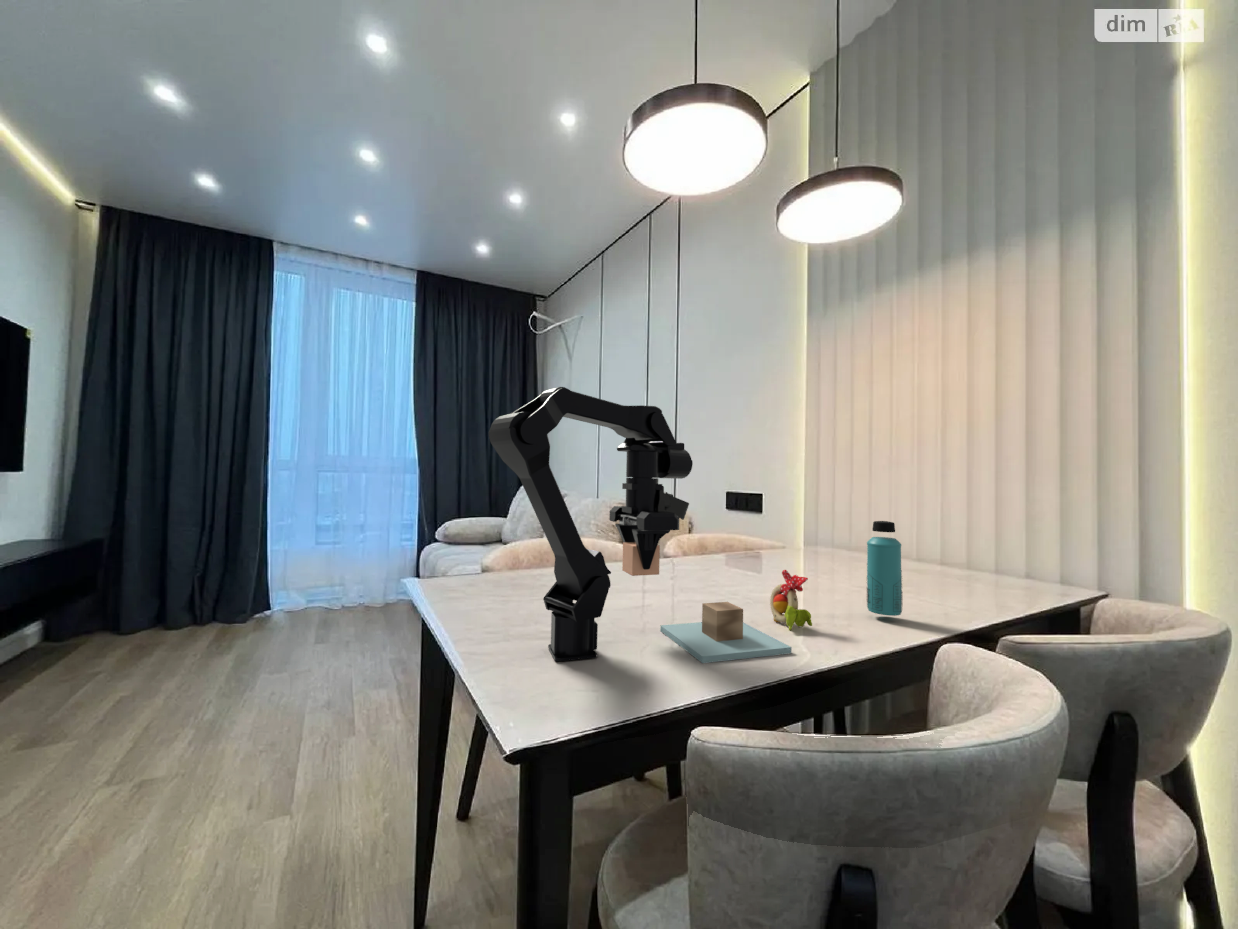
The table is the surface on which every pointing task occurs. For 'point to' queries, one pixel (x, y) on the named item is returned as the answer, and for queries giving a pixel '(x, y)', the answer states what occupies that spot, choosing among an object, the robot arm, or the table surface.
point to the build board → (723, 643)
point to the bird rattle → (789, 602)
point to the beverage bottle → (884, 572)
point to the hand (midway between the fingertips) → (640, 566)
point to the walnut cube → (722, 621)
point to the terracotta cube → (638, 561)
